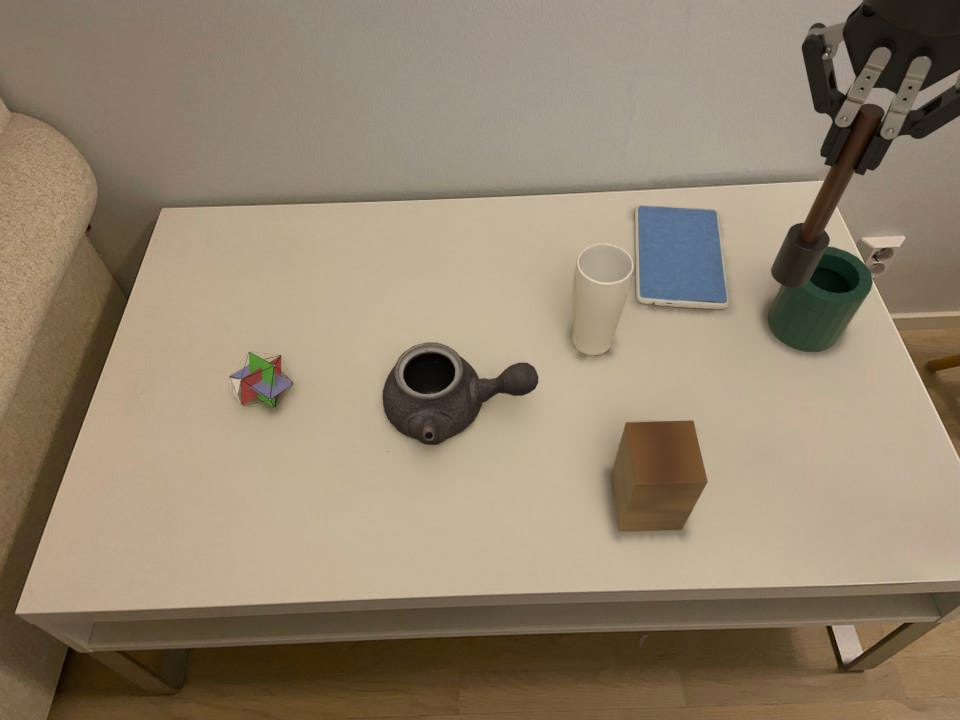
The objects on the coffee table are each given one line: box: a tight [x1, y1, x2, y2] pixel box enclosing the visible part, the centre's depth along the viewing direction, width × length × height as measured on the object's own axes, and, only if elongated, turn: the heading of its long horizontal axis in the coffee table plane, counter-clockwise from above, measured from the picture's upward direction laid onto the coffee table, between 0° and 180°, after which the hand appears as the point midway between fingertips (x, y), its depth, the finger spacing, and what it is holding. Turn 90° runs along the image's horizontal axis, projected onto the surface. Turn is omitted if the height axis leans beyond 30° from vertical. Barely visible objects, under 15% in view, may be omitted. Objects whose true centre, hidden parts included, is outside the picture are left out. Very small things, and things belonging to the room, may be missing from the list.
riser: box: [610, 419, 709, 533], centre depth 75 cm, size 7×7×12 cm
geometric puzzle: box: [228, 350, 295, 409], centre depth 87 cm, size 7×7×8 cm
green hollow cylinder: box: [767, 246, 874, 353], centre depth 90 cm, size 9×9×10 cm
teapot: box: [381, 341, 539, 446], centre depth 83 cm, size 19×15×10 cm
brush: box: [770, 103, 886, 288], centre depth 60 cm, size 4×4×18 cm
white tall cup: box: [571, 242, 635, 356], centre depth 87 cm, size 7×7×15 cm
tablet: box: [634, 204, 730, 310], centre depth 101 cm, size 19×13×1 cm, turn 173°
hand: (845, 163), depth 56 cm, fingers closed on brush, 2 cm apart
